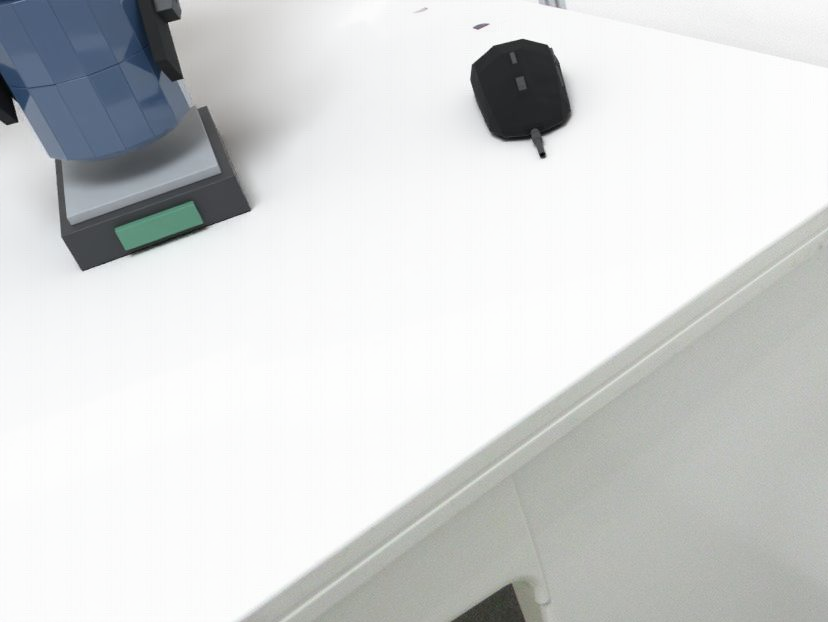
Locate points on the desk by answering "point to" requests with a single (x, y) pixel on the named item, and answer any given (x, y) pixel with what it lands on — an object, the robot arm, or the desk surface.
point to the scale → (148, 193)
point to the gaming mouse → (520, 90)
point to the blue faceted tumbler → (86, 77)
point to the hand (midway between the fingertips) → (85, 92)
